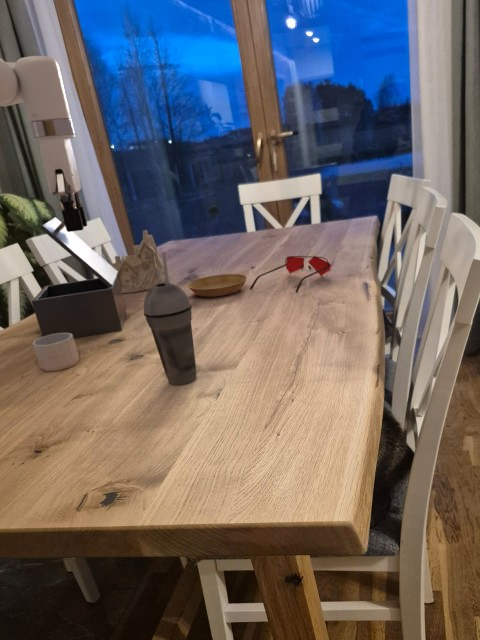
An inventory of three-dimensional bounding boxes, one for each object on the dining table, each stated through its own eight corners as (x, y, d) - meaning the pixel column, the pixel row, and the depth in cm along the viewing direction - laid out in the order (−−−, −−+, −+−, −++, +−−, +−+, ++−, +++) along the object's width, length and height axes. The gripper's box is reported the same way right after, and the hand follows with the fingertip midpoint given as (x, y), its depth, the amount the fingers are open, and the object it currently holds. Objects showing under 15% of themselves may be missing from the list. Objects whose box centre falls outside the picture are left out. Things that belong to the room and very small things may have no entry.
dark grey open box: (44, 343, 119) (31, 301, 116) (56, 324, 132) (44, 285, 128) (122, 330, 122) (111, 288, 118) (126, 313, 134) (117, 275, 130)
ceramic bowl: (37, 374, 102) (28, 348, 100) (44, 361, 108) (36, 336, 106) (76, 368, 103) (69, 341, 101) (82, 355, 109) (74, 330, 107)
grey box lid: (39, 228, 111) (58, 207, 110) (52, 219, 123) (69, 201, 122) (109, 288, 118) (127, 269, 117) (115, 274, 130) (131, 257, 129)
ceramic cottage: (173, 274, 167) (158, 221, 160) (165, 290, 152) (149, 233, 145) (120, 284, 167) (103, 232, 160) (107, 301, 152) (88, 244, 146)
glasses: (333, 275, 145) (331, 255, 143) (297, 293, 133) (294, 271, 131) (288, 273, 153) (285, 254, 151) (249, 290, 141) (246, 269, 139)
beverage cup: (156, 377, 95) (128, 254, 86) (200, 367, 97) (176, 246, 88) (163, 392, 89) (133, 262, 80) (209, 381, 91) (184, 253, 82)
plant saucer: (212, 282, 153) (211, 273, 151) (259, 284, 146) (258, 273, 144) (177, 298, 141) (175, 288, 140) (226, 300, 134) (224, 289, 133)
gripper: (41, 134, 118) (65, 226, 126) (22, 132, 103) (50, 237, 110) (79, 130, 119) (100, 221, 127) (66, 128, 104) (91, 232, 111)
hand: (77, 227), depth 118 cm, fingers closed on grey box lid, 5 cm apart
